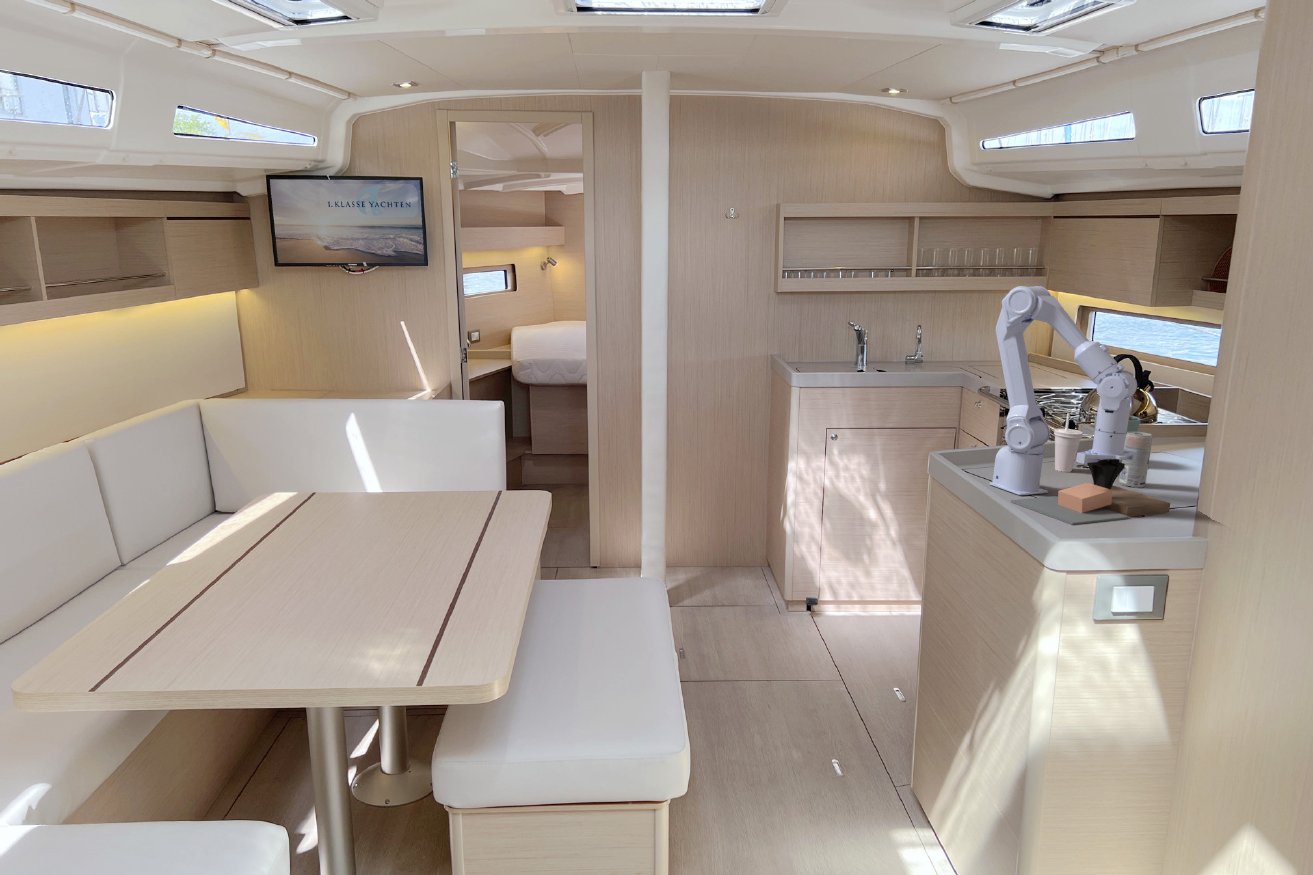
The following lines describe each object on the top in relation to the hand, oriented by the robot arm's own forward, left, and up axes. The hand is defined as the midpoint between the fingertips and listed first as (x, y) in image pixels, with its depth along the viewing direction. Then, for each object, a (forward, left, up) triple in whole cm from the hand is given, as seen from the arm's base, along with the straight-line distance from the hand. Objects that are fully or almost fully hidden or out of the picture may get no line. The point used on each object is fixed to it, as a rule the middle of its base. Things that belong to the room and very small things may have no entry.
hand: (1101, 495), depth 182 cm
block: (+1, -5, -1) cm, 5 cm away
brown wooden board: (0, +5, -2) cm, 6 cm away
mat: (0, -8, -2) cm, 9 cm away
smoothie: (-27, +18, -3) cm, 33 cm away
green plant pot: (-30, +37, -3) cm, 48 cm away
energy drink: (-12, +23, -3) cm, 26 cm away
